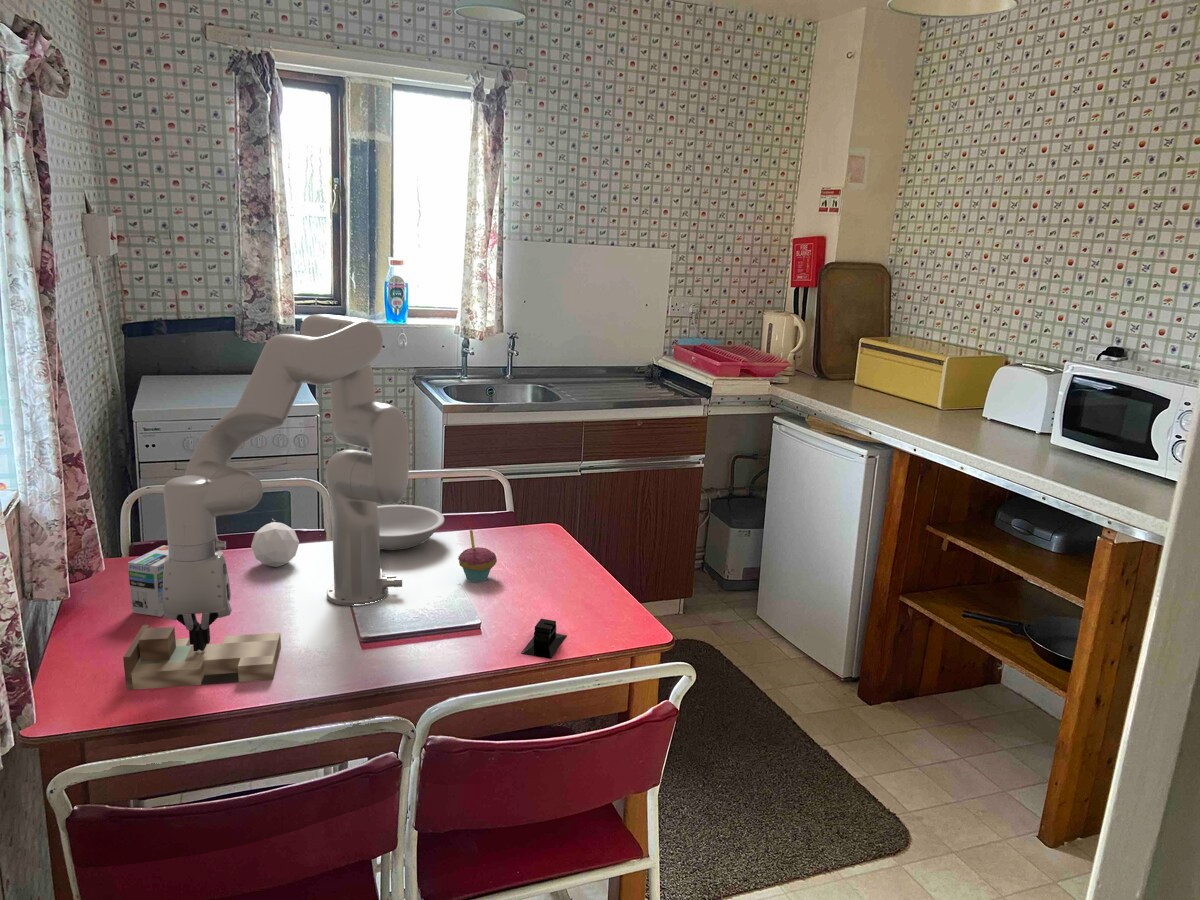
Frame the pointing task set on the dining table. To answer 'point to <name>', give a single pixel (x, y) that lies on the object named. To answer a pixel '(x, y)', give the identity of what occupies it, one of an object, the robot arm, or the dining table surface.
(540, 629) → the build plate
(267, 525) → the ornament
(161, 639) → the walnut block
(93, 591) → the dining table surface
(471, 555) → the cupcake
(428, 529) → the soup bowl
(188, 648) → the track
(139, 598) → the light bulb box
